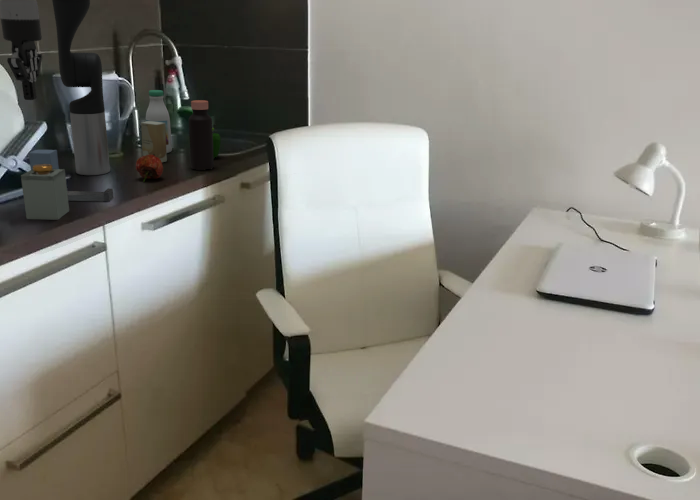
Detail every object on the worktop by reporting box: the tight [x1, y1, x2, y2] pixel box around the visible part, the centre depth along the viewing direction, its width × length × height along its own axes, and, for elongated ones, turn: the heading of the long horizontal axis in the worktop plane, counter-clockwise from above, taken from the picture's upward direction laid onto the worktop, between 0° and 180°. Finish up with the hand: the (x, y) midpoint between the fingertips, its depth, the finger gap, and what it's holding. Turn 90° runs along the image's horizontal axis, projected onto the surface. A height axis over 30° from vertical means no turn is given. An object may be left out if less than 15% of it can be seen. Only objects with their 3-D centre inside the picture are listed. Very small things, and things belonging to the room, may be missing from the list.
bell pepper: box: [212, 127, 222, 159], centre depth 218 cm, size 8×8×10 cm
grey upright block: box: [20, 168, 70, 221], centre depth 155 cm, size 7×7×10 cm
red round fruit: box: [135, 154, 164, 183], centre depth 190 cm, size 7×7×10 cm
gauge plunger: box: [33, 164, 53, 175], centre depth 154 cm, size 4×4×7 cm
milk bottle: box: [145, 89, 173, 154], centre depth 224 cm, size 8×8×20 cm
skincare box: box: [140, 120, 168, 163], centre depth 211 cm, size 6×4×12 cm
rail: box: [67, 188, 114, 202], centre depth 170 cm, size 4×20×2 cm, turn 92°
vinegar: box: [188, 99, 215, 171], centre depth 203 cm, size 7×7×20 cm
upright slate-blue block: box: [28, 149, 60, 170], centre depth 168 cm, size 6×5×12 cm
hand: (30, 99), depth 151 cm, fingers closed
